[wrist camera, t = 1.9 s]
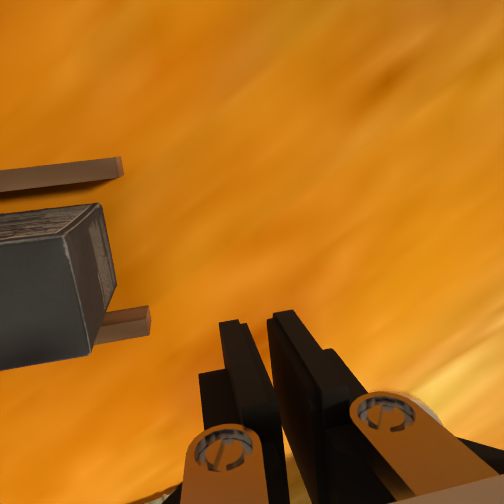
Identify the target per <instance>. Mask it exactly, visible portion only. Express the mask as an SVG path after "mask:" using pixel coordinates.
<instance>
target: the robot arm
mask: <svg viewBox="0 0 504 504" xmlns="http://www.w3.org/2000/svg"><path fill="white" fill-rule="evenodd" d="M219 329H220V336H221V344H222V351H223V358H224V365H225V369H221V370H216V371H211V372H206V373H201V374H198V375H199V385H200V394H201V404H202V413H203V423H204V431H203V432H202V433H200V434H199V435H198V436H197V437H195V438H194V440H193V441H192V442H191V443H190V445H189V447H188V450H187V453H186V459H185V467H184V476H183V482H182V483H181V484H180V485H179V486H178V487H177V488H176V489H175V490H174V491H173V492H172V493H171V494H170V495H169V496H168V497H167V498H166V499H165V500H164V502H163V503H162V504H290V499H289V490H288V480H287V471H286V461H285V452H284V443H283V433H282V427H283V430H284V432H285V435H286V437H287V440H288V442H289V445H290V448H291V450H292V453H293V455H294V458H295V461H296V463H297V466H298V468H299V471H300V473H301V476H302V479H303V481H304V484H305V486H306V489H307V491H308V494H309V497H310V499H311V502H312V504H504V451H503V450H500V449H496V448H493V447H489V446H486V445H483V444H479V443H476V442H472V441H469V440H465V439H462V438H458V437H455V436H454V435H453V434H451V433H450V432H449V431H448V430H447V429H446V428H444V427H443V424H442V423H441V421H440V419H439V418H438V416H437V415H436V414H435V413H434V412H433V411H432V410H431V409H430V408H429V406H427V405H426V404H425V403H424V402H422V401H421V400H420V399H418V398H416V397H413V396H411V395H409V394H404V393H400V392H373V393H368V392H367V391H366V390H365V388H364V387H363V386H362V385H361V383H360V382H359V381H358V380H357V378H356V377H355V376H354V375H353V373H352V372H351V371H350V370H349V368H348V367H347V366H346V364H345V363H344V362H343V361H342V359H341V358H340V357H339V356H338V354H337V353H336V352H335V351H334V350H333V349H332V348H330V349H325V350H322V349H321V347H320V346H319V345H318V343H317V342H316V341H315V339H314V338H313V336H312V335H311V334H310V332H309V331H308V330H307V328H306V327H305V326H304V324H303V323H302V322H301V320H300V319H299V317H298V316H297V315H296V313H295V312H294V311H293V310H287V311H282V312H276V313H273V318H271V319H267V331H268V340H269V349H270V358H271V368H272V377H273V386H274V388H273V386H272V383H271V381H270V378H269V376H268V373H267V371H266V369H265V366H264V364H263V361H262V359H261V357H260V354H259V352H258V349H257V347H256V344H255V342H254V340H253V337H252V335H251V332H250V330H249V328H248V325H247V323H243V324H240V323H239V320H238V319H236V320H231V321H225V322H219Z"/></svg>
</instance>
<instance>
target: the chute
mask: <svg viewBox="0 0 504 504" xmlns="http://www.w3.org/2000/svg"><path fill="white" fill-rule="evenodd" d="M123 175H124V173H123V167H122V162H121V157H114V158H106V159H97V160H88V161H79V162H71V163H62V164H53V165H44V166H36V167H27V168H18V169H9V170H1V171H0V192H4V191H13V190H21V189H29V188H37V187H46V186H54V185H62V184H70V183H78V182H87V181H95V180H103V179H111V178H119V177H121V176H123ZM150 326H151V317H150V311H149V306H142V307H136V308H130V309H124V310H118V311H112V312H106V313H105V316H104V318H103V321H102V323H101V327H100V329H99V331H98V334H97V337H96V339H95V342H94V345H97V344H103V343H108V342H114V341H119V340H125V339H131V338H136V337H142V336H148V335H149V333H150Z"/></svg>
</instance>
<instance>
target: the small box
mask: <svg viewBox="0 0 504 504" xmlns="http://www.w3.org/2000/svg"><path fill="white" fill-rule="evenodd" d="M116 286H117V282H116V276H115V271H114V265H113V260H112V255H111V250H110V244H109V240H108V235H107V230H106V224H105V219H104V214H103V208H102V205H101V204H99V203H93V204H83V205H74V206H66V207H58V208H49V209H48V208H45V209H41V210H31V211H25V212H14V213H7V214H2V213H1V214H0V371H2V370H8V369H14V368H19V367H25V366H31V365H37V364H42V363H48V362H54V361H60V360H65V359H71V358H78V357H83V356H88V355H90V354H91V351H92V348H93V346H94V342H95V339H96V337H97V334H98V331H99V329H100V327H101V323H102V321H103V318H104V316H105V313H106V311H107V308H108V306H109V303H110V300H111V298H112V295H113V293H114V290H115V288H116Z"/></svg>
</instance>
